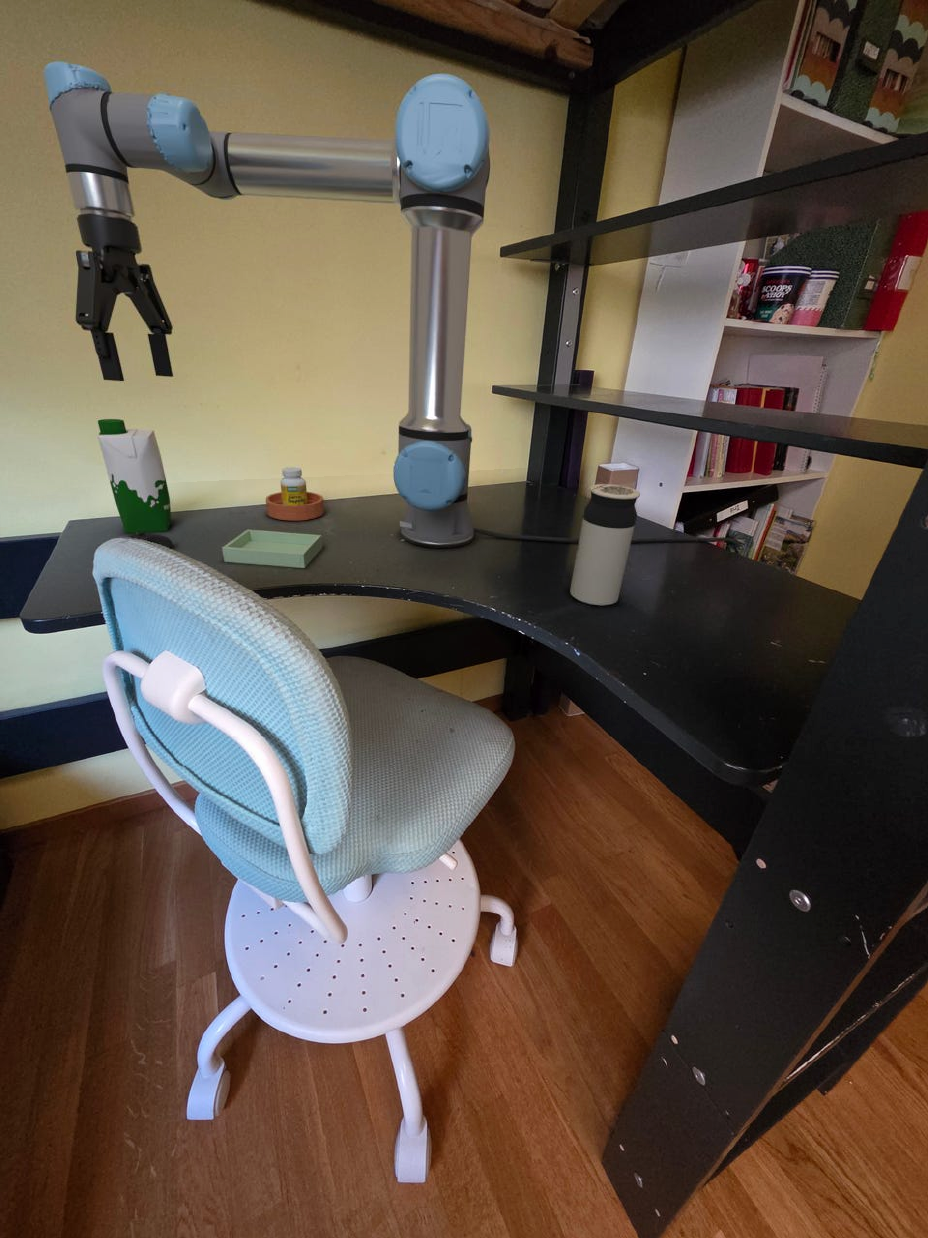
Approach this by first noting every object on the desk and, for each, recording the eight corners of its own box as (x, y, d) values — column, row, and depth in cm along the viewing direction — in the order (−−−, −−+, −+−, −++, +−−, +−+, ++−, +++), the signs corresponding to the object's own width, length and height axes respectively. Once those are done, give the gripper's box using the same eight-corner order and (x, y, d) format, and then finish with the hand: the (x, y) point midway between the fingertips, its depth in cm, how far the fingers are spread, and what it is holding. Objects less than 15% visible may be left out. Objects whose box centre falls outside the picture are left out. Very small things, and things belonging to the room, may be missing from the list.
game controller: (139, 561, 84) (109, 534, 83) (124, 580, 87) (94, 553, 85) (177, 542, 93) (150, 517, 91) (162, 559, 95) (136, 535, 94)
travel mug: (626, 598, 86) (651, 492, 78) (600, 611, 81) (624, 499, 73) (586, 582, 91) (606, 481, 83) (560, 594, 86) (578, 487, 78)
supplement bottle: (304, 507, 119) (300, 465, 114) (311, 514, 115) (308, 470, 110) (280, 510, 116) (275, 467, 112) (287, 516, 112) (283, 472, 108)
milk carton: (127, 521, 104) (100, 416, 95) (177, 519, 107) (155, 417, 98) (119, 535, 97) (89, 424, 88) (173, 532, 100) (150, 424, 91)
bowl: (330, 508, 121) (329, 493, 119) (314, 523, 110) (312, 507, 108) (279, 504, 121) (278, 489, 120) (258, 519, 110) (256, 503, 109)
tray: (322, 548, 98) (321, 535, 97) (304, 568, 89) (303, 554, 88) (249, 542, 98) (247, 529, 97) (224, 561, 89) (221, 547, 88)
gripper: (134, 232, 85) (162, 373, 95) (9, 192, 63) (62, 380, 73) (178, 235, 85) (201, 376, 95) (69, 196, 63) (113, 384, 73)
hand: (141, 378), depth 84 cm, fingers open, 13 cm apart
